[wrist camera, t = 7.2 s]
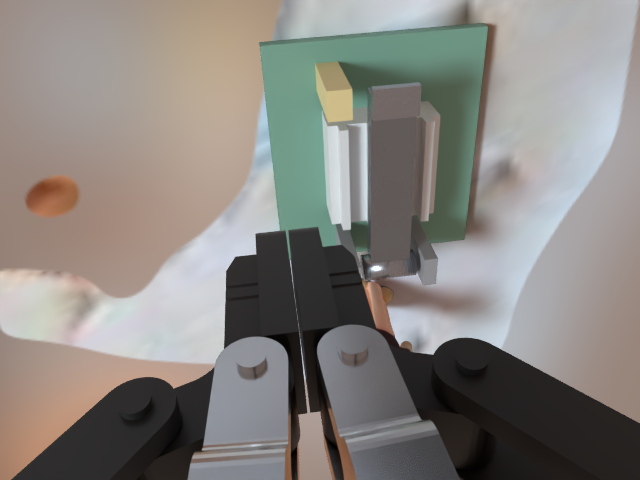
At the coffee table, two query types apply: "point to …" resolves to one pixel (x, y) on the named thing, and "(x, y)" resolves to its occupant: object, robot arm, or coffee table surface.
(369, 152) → the gray bar
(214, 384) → the robot arm
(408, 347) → the grandmother figurine
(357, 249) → the board
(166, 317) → the coffee table surface
